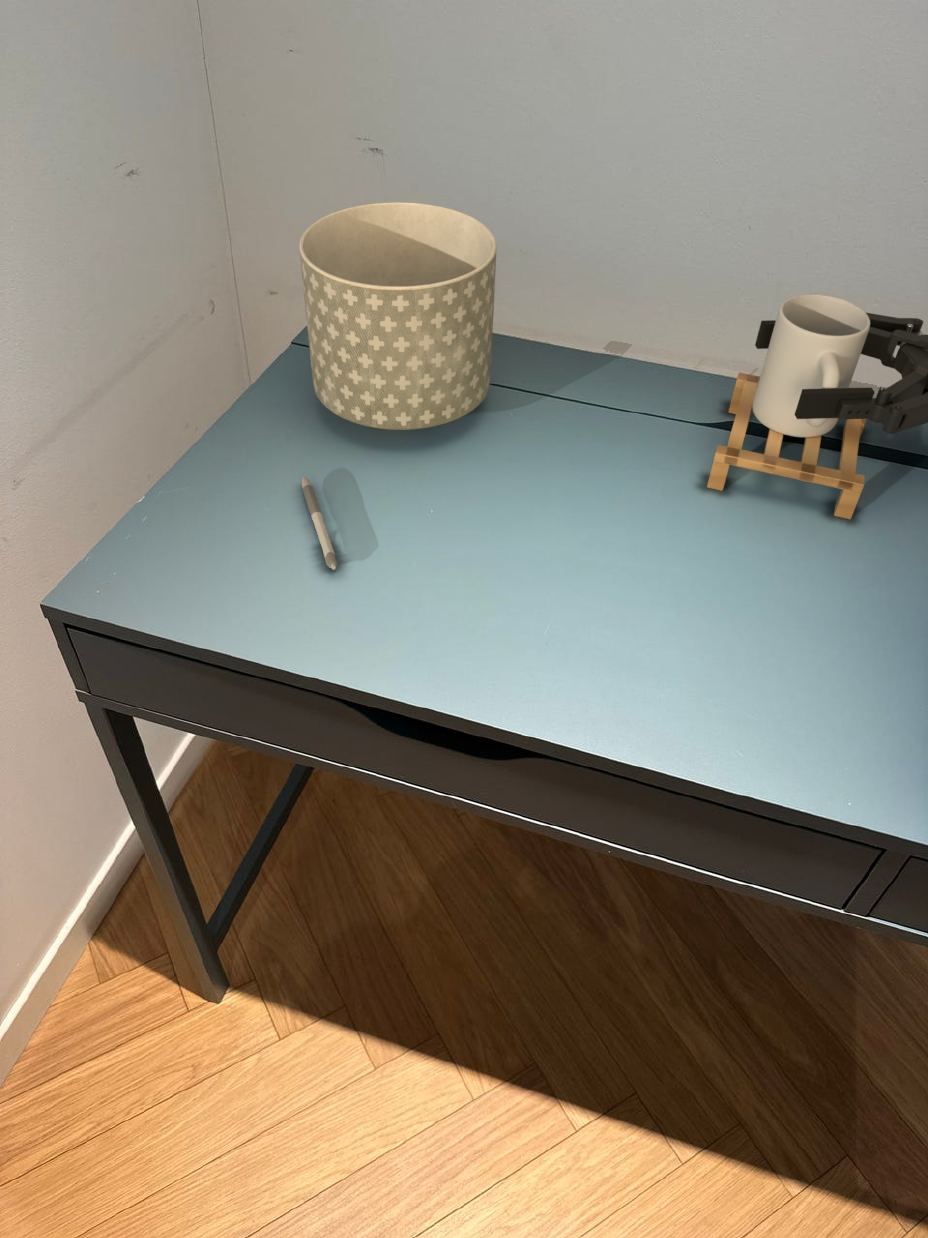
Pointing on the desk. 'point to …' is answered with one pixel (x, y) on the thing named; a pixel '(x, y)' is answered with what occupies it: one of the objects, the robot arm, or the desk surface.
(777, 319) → the mug
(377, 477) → the desk surface
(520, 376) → the desk surface
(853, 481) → the rack
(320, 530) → the pen
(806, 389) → the robot arm
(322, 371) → the planter
